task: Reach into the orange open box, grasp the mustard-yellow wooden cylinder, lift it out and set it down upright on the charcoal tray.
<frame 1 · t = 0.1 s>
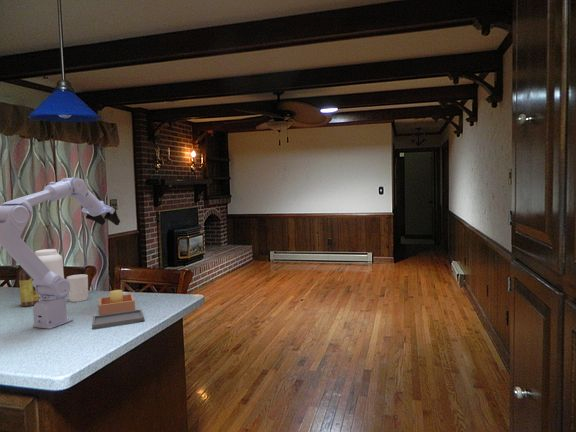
hand: (111, 223, 166), 32 cm above the counter, tool tilted 50°, fingers open, 7 cm apart
tray: (118, 320, 142), on the counter
cylinder: (117, 308, 156), point 1 cm above the counter, touching orange open box
orange open box: (117, 309, 156), on the counter
sauce bottle: (30, 305, 167), on the counter
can: (49, 294, 184), on the counter
white cup: (78, 300, 173), on the counter
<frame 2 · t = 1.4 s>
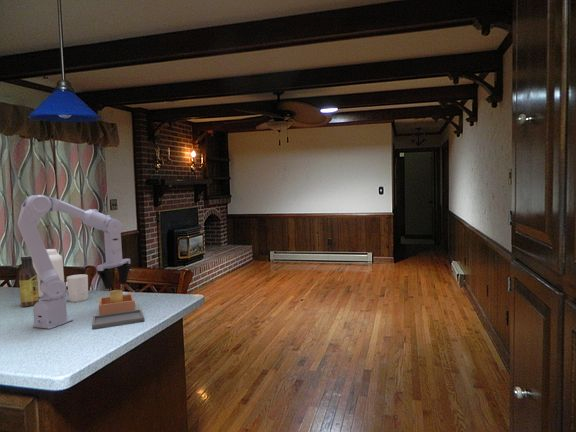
hand: (115, 286, 155), 9 cm above the counter, tool pointing down, fingers open, 7 cm apart
nothing on the counter moved.
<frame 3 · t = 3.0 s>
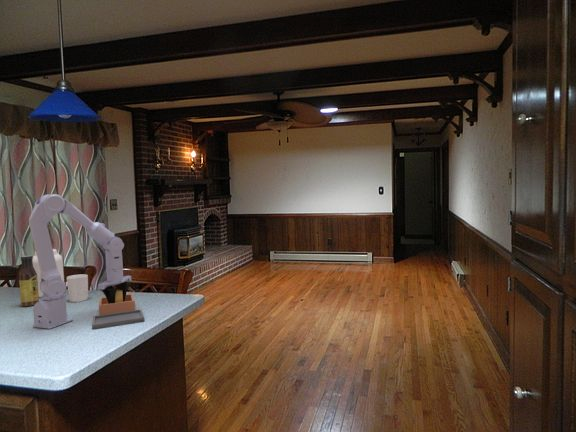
hand: (116, 304, 156), 2 cm above the counter, tool pointing down, fingers closed on cylinder, 4 cm apart
cylinder: (117, 308, 156), point 1 cm above the counter, touching orange open box, gripper
everything else where it was.
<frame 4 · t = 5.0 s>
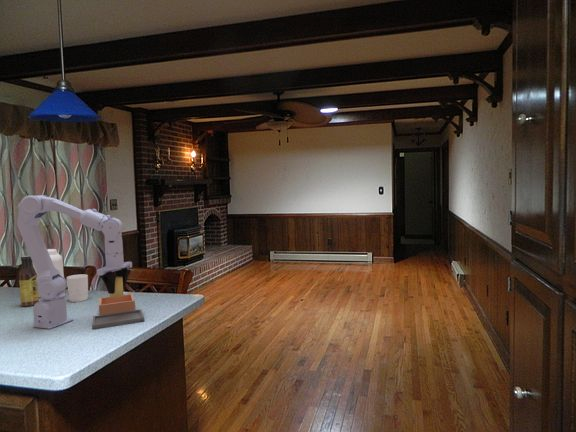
hand: (116, 291, 145), 9 cm above the counter, tool pointing down, fingers closed on cylinder, 4 cm apart
cylinder: (116, 296, 145), point 8 cm above the counter, touching gripper
everything else where it was.
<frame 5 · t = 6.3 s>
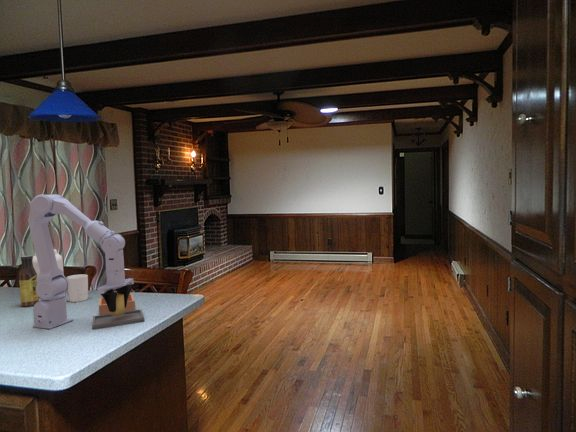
hand: (117, 309, 142), 4 cm above the counter, tool pointing down, fingers closed on cylinder, 4 cm apart
cylinder: (118, 314, 142), point 2 cm above the counter, touching gripper
everything else where it was.
when the fingers open (4 cm above the counter, at t = 7.2 s): cylinder drops 1 cm, resting on tray.
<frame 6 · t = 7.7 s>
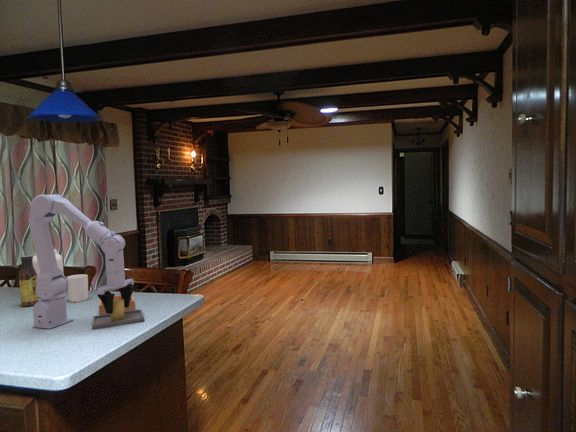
hand: (117, 310, 142), 4 cm above the counter, tool pointing down, fingers open, 7 cm apart
cylinder: (117, 319, 142), point 1 cm above the counter, touching tray
everything else where it was.
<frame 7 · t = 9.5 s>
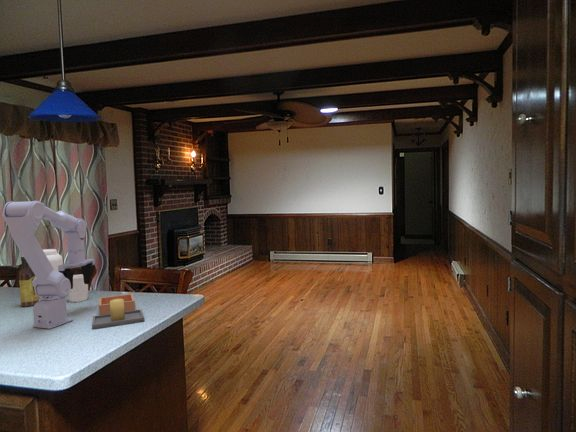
hand: (78, 286, 155), 9 cm above the counter, tool pointing down, fingers open, 7 cm apart
nothing on the counter moved.
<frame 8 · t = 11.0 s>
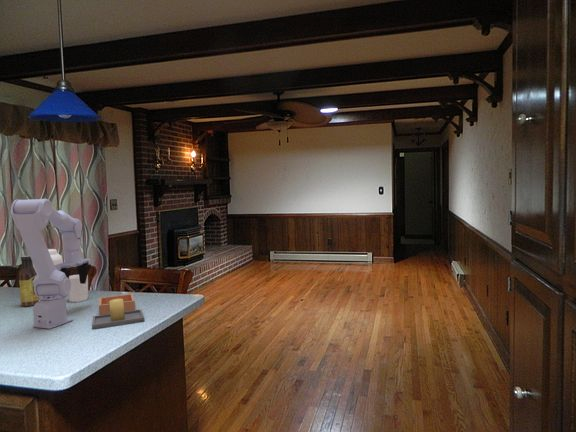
hand: (74, 285, 156), 9 cm above the counter, tool pointing down, fingers open, 7 cm apart
nothing on the counter moved.
at the end: cylinder 0.2 cm from the tray (horizontally); cylinder point 0.7 cm above the counter; cylinder tilted 2° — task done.
